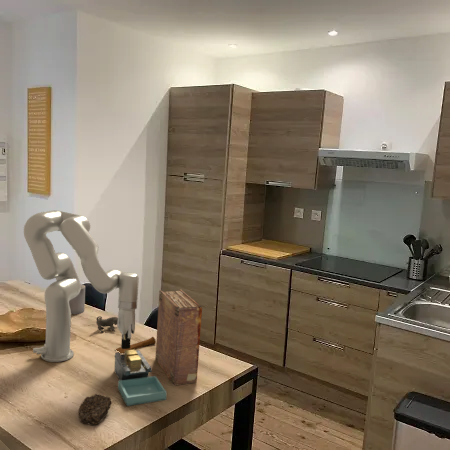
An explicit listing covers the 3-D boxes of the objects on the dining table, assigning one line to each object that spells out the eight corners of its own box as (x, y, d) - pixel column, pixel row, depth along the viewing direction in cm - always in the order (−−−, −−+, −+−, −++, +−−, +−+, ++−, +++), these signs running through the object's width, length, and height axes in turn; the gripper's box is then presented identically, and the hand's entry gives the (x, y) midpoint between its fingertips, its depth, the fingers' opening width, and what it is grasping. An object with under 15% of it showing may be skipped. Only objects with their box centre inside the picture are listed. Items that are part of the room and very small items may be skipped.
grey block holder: (124, 389, 170) (125, 371, 169) (113, 369, 185) (114, 352, 184) (151, 385, 174) (152, 367, 173) (138, 366, 189) (139, 350, 188)
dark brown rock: (91, 403, 159) (92, 389, 158) (116, 411, 155) (117, 397, 155) (68, 420, 148) (69, 405, 148) (95, 428, 145) (95, 413, 144)
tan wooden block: (130, 368, 174) (130, 360, 174) (127, 363, 177) (128, 356, 177) (141, 366, 176) (141, 359, 175) (138, 362, 179) (138, 355, 179)
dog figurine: (98, 333, 221) (98, 318, 220) (94, 329, 226) (94, 314, 225) (122, 330, 228) (123, 315, 227) (117, 326, 233) (118, 311, 232)
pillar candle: (65, 308, 253) (66, 281, 251) (84, 307, 256) (85, 281, 254) (65, 314, 244) (66, 286, 242) (84, 314, 247) (85, 286, 245)
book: (155, 358, 198) (159, 289, 194) (176, 356, 202) (180, 288, 198) (173, 386, 175) (178, 308, 172) (196, 382, 179) (202, 307, 175)
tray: (126, 406, 159) (127, 397, 158) (117, 388, 170) (118, 380, 170) (166, 399, 165) (166, 391, 164) (155, 383, 176) (155, 375, 176)
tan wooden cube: (126, 362, 179) (127, 354, 178) (124, 358, 182) (124, 350, 182) (137, 361, 181) (137, 353, 180) (134, 356, 184) (134, 349, 184)
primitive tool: (120, 355, 200) (120, 347, 200) (113, 351, 204) (113, 343, 203) (156, 345, 214) (157, 337, 213) (149, 341, 218) (150, 334, 217)
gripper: (114, 299, 191) (112, 342, 194) (122, 310, 178) (120, 356, 180) (132, 298, 195) (130, 340, 197) (142, 309, 181) (139, 354, 184)
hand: (125, 348), depth 189 cm, fingers closed
